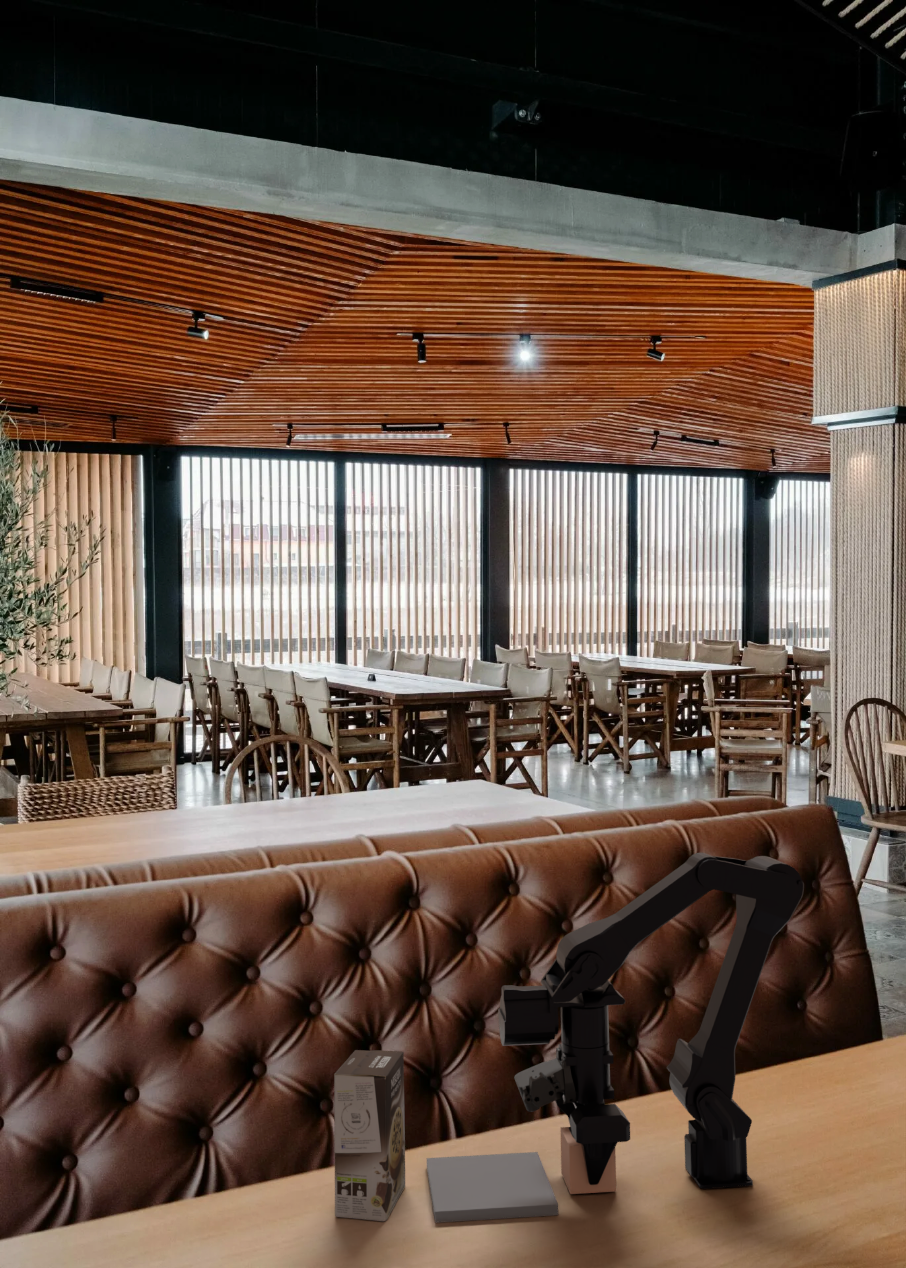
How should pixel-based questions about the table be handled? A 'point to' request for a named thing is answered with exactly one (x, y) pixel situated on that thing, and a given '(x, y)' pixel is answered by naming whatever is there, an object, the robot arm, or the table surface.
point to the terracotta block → (583, 1168)
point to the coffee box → (369, 1134)
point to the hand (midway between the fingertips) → (588, 1173)
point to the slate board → (489, 1187)
